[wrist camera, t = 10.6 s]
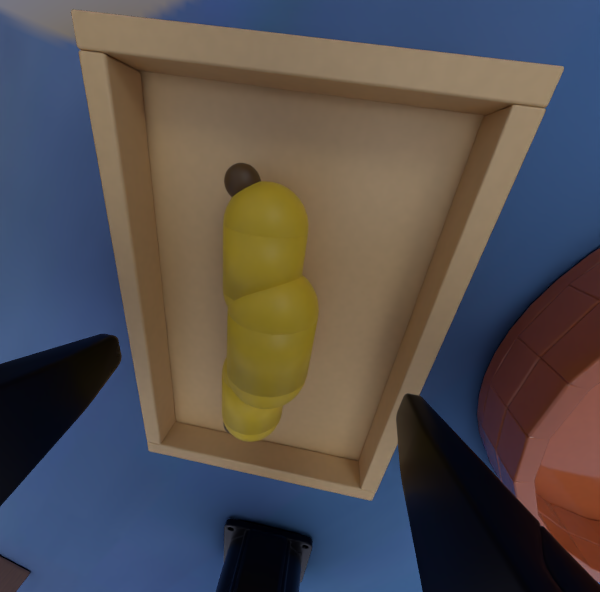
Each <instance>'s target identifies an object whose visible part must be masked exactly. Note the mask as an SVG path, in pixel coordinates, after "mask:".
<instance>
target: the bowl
mask: <svg viewBox="0 0 600 592" xmlns="http://www.w3.org/2000/svg"><path fill="white" fill-rule="evenodd" d="M477 417H478V427H479V433H480V436H481V439H482V442H483V446H484V448H485V450H486V452H487V455H488V459H489V461H490V463H491V465H492V467H493V469H494V471H495V473H496V474H497V476H498V478H499V480H500V481H501V482H502V483H503V484H504V485H505V486H506V487H507V488H508V489H509V490H510V491H511V492H512V493H513V494H514V496H515V497H516V498H517V499H518V500H519V501H520V502H521V503H522V504H523V505H524V506H525V507H526V508H527V509H528V510H529V511H530V512H531V514H532V515H533V516H534V517H535V518H536V519H537V520H538V521H539V522H540V526H544V527H545V528H546V529H547V530H548V531H549V532H550V534H551V535H552V536H553V537H554V538H555V539H556V540H557V541H558V542H559V543H560V544H561V545H562V546H563V547H564V548H565V549H566V550H567V551H568V552H569V553H570V555H571V556H572V557H573V558H574V559H575V560H576V561H577V562H578V563H579V564H580V565H581V566H582V567H583V568H584V569H585V570H586V571H587V572H588V573H589V574H590V575H591V576H592V577H593V578H594V579H595V580H596V581H597V582H599V583H600V248H598V249H597V250H595V251H594V252H592V253H591V254H589V255H588V256H587V257H585V258H584V259H583V260H582V261H580V262H579V263H578V264H577V265H575V266H574V267H573V268H571V269H570V270H569V271H568V272H566V273H565V274H564V275H563V276H561V277H560V278H559V279H557V280H556V281H555V282H554V283H553V284H552V285H551V286H550V287H549V288H548V289H547V290H546V291H545V292H544V293H543V294H542V295H541V296H540V297H539V298H537V299H536V300H535V301H534V302H533V303H532V304H531V305H530V306H529V308H528V309H527V310H526V311H525V312H524V313H523V315H522V316H521V317H520V318H519V319H518V321H517V322H516V323H515V324H514V325H513V326H512V328H511V329H510V330H509V332H508V333H507V335H506V336H505V338H504V339H503V341H502V342H501V344H500V346H499V347H498V349H497V350H496V352H495V353H494V356H493V358H492V360H491V362H490V364H489V366H488V368H487V371H486V373H485V375H484V379H483V382H482V386H481V389H480V393H479V400H478V410H477Z"/></svg>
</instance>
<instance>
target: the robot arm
mask: <svg viewBox="0 0 600 592" xmlns="http://www.w3.org/2000/svg"><path fill="white" fill-rule="evenodd" d="M120 362H121V351H120V346H119V341H118V338H117V337H116V336H113V335H108V334H99V335H96V336H92V337H89V338H86V339H82V340H79V341H76V342H72V343H69V344H66V345H62V346H59V347H55V348H52V349H49V350H45V351H42V352H39V353H35V354H32V355H29V356H25V357H22V358H19V359H15V360H12V361H9V362H5V363H2V364H0V506H1V505H2V504H3V503H4V502H5V500H6V499H7V498H8V497H9V496H10V495H11V494H12V492H13V491H14V490H15V489H16V488H17V487H18V486H19V485H20V483H21V482H22V481H23V480H24V479H25V478H26V477H27V475H28V474H29V473H30V472H31V471H32V470H33V469H34V468H35V466H36V465H37V464H38V463H39V462H40V461H41V460H42V458H43V457H44V456H45V455H46V454H47V453H48V452H49V451H50V449H51V448H52V447H53V446H54V445H55V444H56V443H57V441H58V440H59V439H60V438H61V437H62V436H63V435H64V433H65V432H66V431H67V430H68V429H69V428H70V427H71V426H72V424H73V423H74V422H75V421H76V420H77V419H78V418H79V416H80V415H81V414H82V413H83V412H84V411H85V409H86V408H87V407H88V406H89V404H90V403H91V402H92V401H93V399H94V398H95V397H96V395H97V394H98V393H99V391H100V390H101V388H102V387H103V386H104V384H105V383H106V382H107V380H108V379H109V378H110V376H111V375H112V374H113V372H114V371H115V369H116V368H117V367H118V365H119V364H120ZM396 426H397V437H398V449H399V461H400V471H401V479H402V485H403V490H404V495H405V500H406V506H407V511H408V516H409V521H410V527H411V532H412V537H413V543H414V548H415V553H416V558H417V564H418V569H419V574H420V579H421V585H422V590H423V592H600V584H599V583H598V582H597V581H596V580H595V579H594V578H593V577H592V576H591V575H590V574H589V573H588V572H587V571H586V570H585V569H584V568H583V567H582V566H581V565H580V564H579V563H578V562H577V561H576V560H575V559H574V558H573V557H572V556H571V555H570V553H569V552H568V551H567V550H566V549H565V548H564V547H563V546H562V545H561V544H560V543H559V542H558V541H557V540H556V539H555V538H554V537H553V536H552V535H551V534H550V532H549V531H548V530H547V529H546V528H545V527H544V526H540V522H539V521H538V520H537V519H536V518H535V517H534V516H533V515H532V514H531V512H530V511H529V510H528V509H527V508H526V507H525V506H524V505H523V504H522V503H521V502H520V501H519V500H518V499H517V498H516V497H515V496H514V494H513V493H512V492H511V491H510V490H509V489H508V488H507V487H506V486H505V485H504V484H503V483H502V482H501V481H500V480H499V479H498V477H497V476H496V475H495V474H494V473H493V472H492V471H491V470H490V469H489V468H488V467H487V466H486V465H485V464H484V463H483V462H482V461H481V459H480V458H479V457H478V456H477V455H476V454H475V453H474V452H473V451H472V450H471V449H470V448H469V447H468V446H467V445H466V444H465V442H464V441H463V440H462V439H461V438H460V437H459V436H458V435H457V434H456V433H455V432H454V431H453V430H452V429H451V428H450V427H449V426H448V424H447V423H446V422H445V421H444V420H443V419H442V418H441V417H440V416H439V415H438V414H437V413H436V412H435V411H434V410H433V409H432V407H431V406H430V405H429V404H428V403H427V402H426V401H425V400H424V399H423V398H422V397H421V396H419V395H414V394H409V393H407V394H405V395H404V397H403V399H402V401H401V404H400V406H399V409H398V411H397V415H396ZM312 542H313V541H312V539H311V538H310V537H307V536H303V535H299V534H295V533H290V532H286V531H282V530H278V529H274V528H269V527H265V526H261V525H257V524H252V523H248V522H244V521H240V520H235V519H228V520H227V521H226V524H225V527H224V565H223V569H222V572H221V575H220V579H219V582H218V586H217V589H216V592H299V584H300V582H302V579H303V576H304V572H305V569H306V566H307V563H308V560H309V556H310V553H311V550H312Z"/></svg>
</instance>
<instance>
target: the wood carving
mask: <svg viewBox="0 0 600 592" xmlns="http://www.w3.org/2000/svg"><path fill="white" fill-rule="evenodd" d="M29 574H30V572H29V571H27V570H25V569H23V568H21V567H20V566H18V565H16V564H14V563H12V562H10V561H8V560H6V559H5V558H3V557H1V556H0V592H16V591H17V590H18V588H19V587H20V586H21V585H22V583H23V582H24V581H25V579H26V578H27V577H28V575H29Z"/></svg>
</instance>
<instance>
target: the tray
mask: <svg viewBox="0 0 600 592" xmlns="http://www.w3.org/2000/svg"><path fill="white" fill-rule="evenodd" d="M71 15H72V20H73V26H74V32H75V38H76V43H77V47H78V48H79V49H80V50H81V51H79V58H80V63H81V69H82V75H83V80H84V86H85V92H86V97H87V103H88V109H89V114H90V120H91V126H92V131H93V137H94V143H95V148H96V154H97V160H98V165H99V171H100V177H101V182H102V188H103V194H104V200H105V205H106V211H107V217H108V222H109V228H110V234H111V239H112V245H113V251H114V256H115V262H116V268H117V273H118V279H119V285H120V290H121V296H122V302H123V307H124V313H125V319H126V324H127V330H128V336H129V341H130V347H131V353H132V358H133V364H134V370H135V375H136V381H137V387H138V392H139V398H140V404H141V409H142V415H143V421H144V426H145V432H146V438H147V441H148V442H147V444H148V449H149V451H151V452H155V453H160V454H164V455H169V456H173V457H178V458H182V459H187V460H191V461H196V462H200V463H205V464H209V465H214V466H218V467H223V468H227V469H231V470H236V471H240V472H245V473H249V474H254V475H258V476H263V477H267V478H272V479H276V480H281V481H285V482H290V483H294V484H298V485H303V486H307V487H312V488H316V489H321V490H325V491H330V492H334V493H339V494H343V495H348V496H352V497H357V498H361V499H366V500H370V501H371V500H373V497H374V495H375V492H376V491H377V489H378V487H379V485H380V482H381V480H382V478H383V476H384V473H385V471H386V469H387V467H388V464H389V462H390V460H391V458H392V455H393V453H394V451H395V449H396V446H397V444H398V437H397V426H396V415H397V411H398V409H399V406H400V404H401V401H402V399H403V397H404V395H405V394H407V393H409V394H414V395H420V392H421V390H422V388H423V386H424V383H425V381H426V379H427V377H428V374H429V372H430V370H431V368H432V365H433V363H434V361H435V359H436V356H437V354H438V352H439V350H440V347H441V345H442V343H443V341H444V338H445V336H446V334H447V332H448V329H449V327H450V325H451V323H452V320H453V318H454V316H455V314H456V311H457V309H458V307H459V305H460V302H461V300H462V298H463V296H464V293H465V291H466V289H467V287H468V284H469V282H470V280H471V278H472V275H473V273H474V271H475V269H476V266H477V264H478V262H479V260H480V257H481V255H482V253H483V251H484V248H485V246H486V244H487V242H488V239H489V237H490V235H491V233H492V230H493V228H494V226H495V224H496V221H497V219H498V217H499V215H500V212H501V210H502V208H503V206H504V203H505V201H506V199H507V197H508V194H509V192H510V190H511V188H512V185H513V183H514V181H515V179H516V176H517V174H518V172H519V170H520V167H521V165H522V163H523V161H524V158H525V156H526V154H527V152H528V149H529V147H530V145H531V143H532V140H533V138H534V136H535V134H536V131H537V129H538V127H539V125H540V122H541V120H542V118H543V116H544V113H545V111H546V109H544V108H545V107H547V105H548V104H549V102H550V99H551V97H552V95H553V93H554V90H555V88H556V86H557V84H558V81H559V79H560V77H561V75H562V72H563V70H564V67H563V66H556V65H547V64H539V63H530V62H522V61H513V60H504V59H496V58H487V57H479V56H470V55H461V54H453V53H444V52H436V51H427V50H418V49H410V48H401V47H393V46H384V45H375V44H367V43H358V42H350V41H341V40H332V39H324V38H315V37H307V36H298V35H289V34H281V33H272V32H264V31H255V30H246V29H238V28H229V27H221V26H212V25H203V24H195V23H186V22H178V21H169V20H160V19H152V18H143V17H135V16H126V15H117V14H108V13H100V12H92V11H82V10H74V9H72V10H71ZM236 163H246V164H249V165H251V166H252V167H254V168H255V169H256V171H257V172H258V174H259V176H260V179H261V181H267V182H274V183H278V184H281V185H283V186H285V187H287V188H288V189H289V190H291V191H292V192H293V193H294V194H295V195H296V196H297V197H298V198H299V199H300V201H301V202H302V204H303V206H304V208H305V210H306V213H307V217H308V237H307V244H306V251H305V258H304V265H303V272H302V275H303V276H304V277H305V278H306V279H307V280H308V281H309V282H310V284H311V285H312V287H313V288H314V291H315V293H316V296H317V299H318V307H319V312H318V321H317V326H316V331H315V337H314V342H313V347H312V353H311V358H310V363H309V369H308V374H307V378H306V380H305V383H304V386H303V387H302V389H301V390H300V392H299V393H298V395H297V396H296V397H295V398H294V399H292V400H291V401H290V402H289V403H287V404H285V405H283V409H282V415H281V418H280V421H279V423H278V425H277V426H276V428H275V430H274V431H273V432H272V433H271V434H270V435H268V436H267V437H265V438H264V439H261V440H259V441H255V442H246V441H242V440H239V439H237V438H235V437H234V436H233V435H232V434H229V433H228V432H226V430H225V429H224V426H223V417H222V370H223V364H224V361H225V359H226V357H227V316H228V307H227V305H226V302H225V299H224V296H223V220H224V213H225V210H226V207H227V205H228V203H229V202H230V200H231V198H232V197H231V196H230V195H229V194H228V192H227V190H226V188H225V185H224V177H225V174H226V171H227V170H228V168H229V167H231V166H232V165H234V164H236Z"/></svg>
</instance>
